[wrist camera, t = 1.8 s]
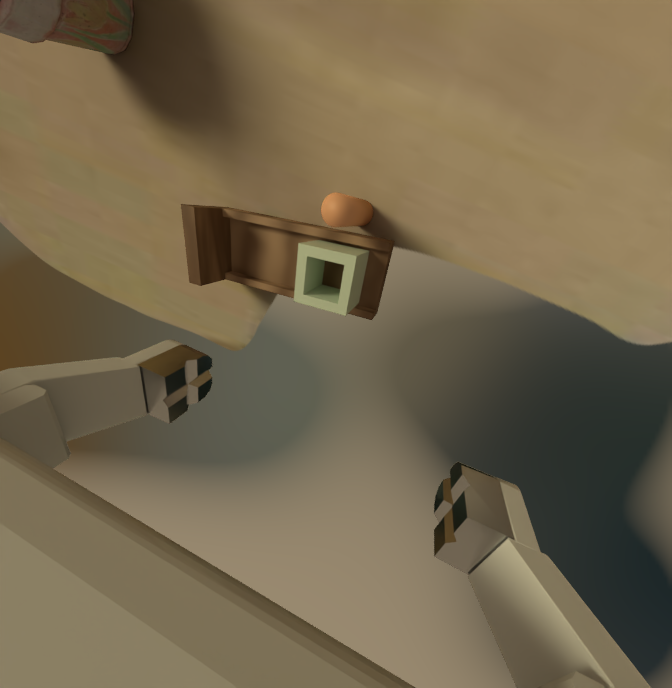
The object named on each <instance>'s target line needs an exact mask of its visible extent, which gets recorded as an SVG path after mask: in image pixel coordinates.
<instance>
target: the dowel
mask: <svg viewBox="0 0 672 688" xmlns="http://www.w3.org/2000/svg"><path fill="white" fill-rule="evenodd" d="M321 213H322V217H323V219H324V221H325V222H326V223H327V224H328V225H329V226H331V227H348V226H363V225H366V224H368V223H369V222H370V221H371V219H372V217H373V208H372V205H371V204H370V203H369V202H368V201H366V200H363V199H359V198H355V197H352V196H348V195H344V194H341V193H331V194H329V195H328V196H327V197H326V198H325V199H324V201H323V203H322V207H321Z"/></svg>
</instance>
